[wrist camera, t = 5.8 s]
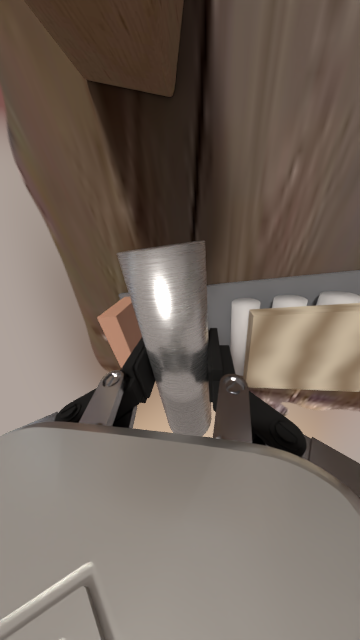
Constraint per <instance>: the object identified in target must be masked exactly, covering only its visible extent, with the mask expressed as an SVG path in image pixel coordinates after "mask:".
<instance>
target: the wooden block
mask: <svg viewBox="0 0 360 640" xmlns="http://www.w3.org/2000/svg"><path fill="white" fill-rule="evenodd" d="M24 1H25V2H26V4H27V5H28V6H29V8H30V9H31V10H32V12H33V13H34V14H35V15H36V17H37V18H38V19H39V21H40V22H41V23H42V24H43V26H44V27H45V28H46V30H47V31H48V32H49V33H50V35H51V36H52V37H53V39H54V40H55V41H56V43H57V44H58V45H59V46H60V48H61V49H62V50H63V52H64V53H65V54H66V55H67V57H68V58H69V59H70V61H71V62H72V63H73V64H74V66H75V67H76V68H77V70H78V71H79V72H80V74H81V75H82V76H83V77H84V78H85V79H86V80H89V81H94V82H99V83H104V84H109V85H114V86H119V87H124V88H128V89H133V90H138V91H143V92H148V93H153V94H158V95H162V96H167V97H171V96H173V93H174V89H175V80H176V70H177V61H178V51H179V42H180V32H181V22H182V13H183V3H184V0H24Z"/></svg>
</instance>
